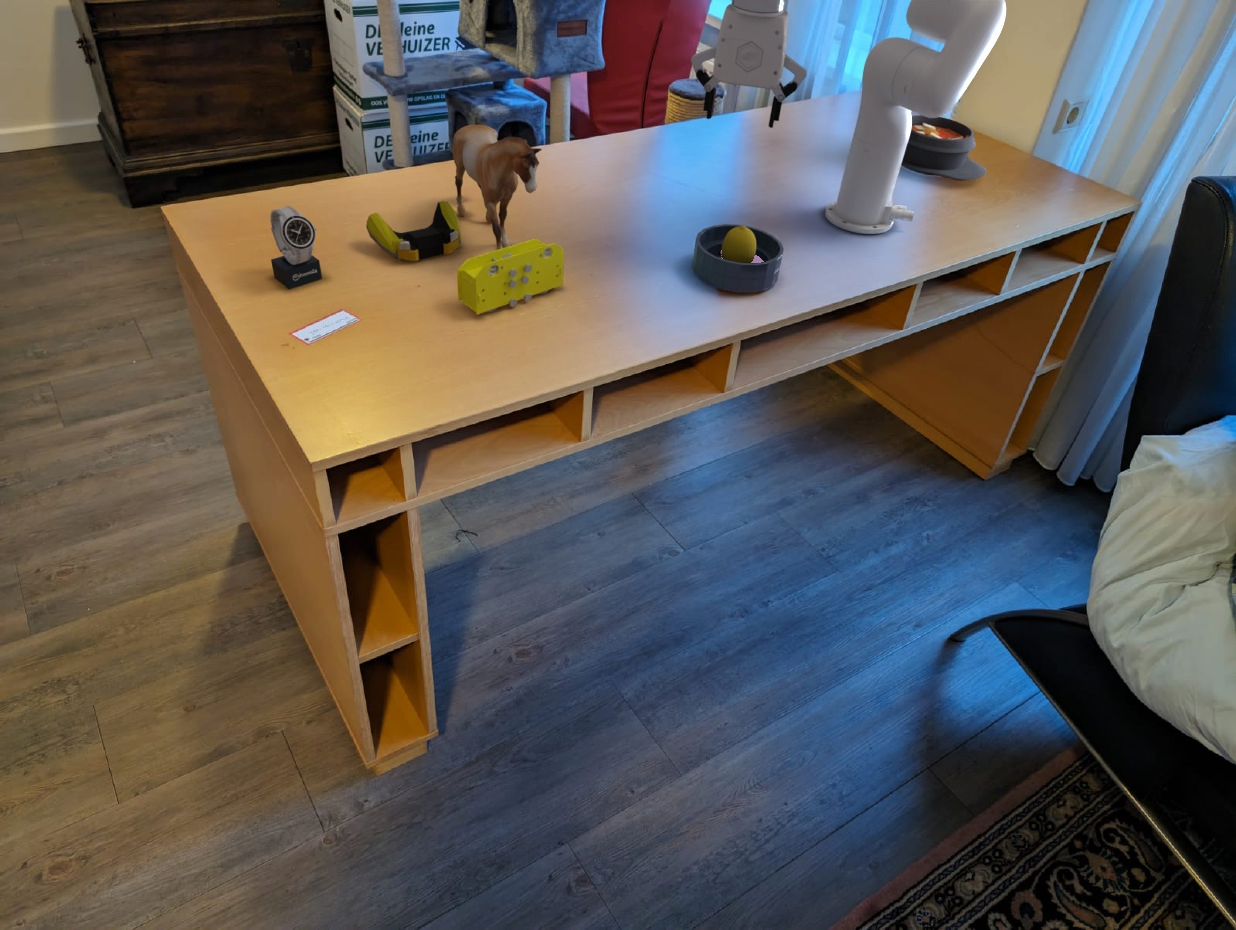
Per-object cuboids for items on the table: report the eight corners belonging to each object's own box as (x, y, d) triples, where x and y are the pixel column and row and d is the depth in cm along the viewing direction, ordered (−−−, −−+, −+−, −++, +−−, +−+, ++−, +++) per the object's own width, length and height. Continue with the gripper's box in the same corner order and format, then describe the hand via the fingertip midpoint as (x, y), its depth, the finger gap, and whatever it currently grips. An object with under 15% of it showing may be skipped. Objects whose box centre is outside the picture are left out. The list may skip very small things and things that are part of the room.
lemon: (740, 282, 142) (749, 237, 137) (711, 270, 144) (719, 225, 139) (757, 271, 146) (766, 226, 140) (729, 259, 148) (737, 215, 143)
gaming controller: (365, 243, 144) (388, 270, 138) (361, 211, 140) (384, 237, 134) (450, 227, 150) (475, 252, 144) (448, 196, 147) (474, 220, 141)
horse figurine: (541, 275, 140) (543, 147, 127) (494, 282, 137) (492, 152, 124) (484, 195, 161) (481, 79, 148) (443, 199, 158) (436, 81, 145)
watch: (295, 295, 130) (282, 225, 123) (268, 273, 134) (255, 205, 127) (329, 283, 133) (318, 215, 126) (302, 263, 137) (290, 196, 130)
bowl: (780, 262, 150) (786, 232, 146) (772, 302, 139) (779, 271, 136) (698, 248, 152) (703, 218, 148) (685, 286, 141) (689, 255, 137)
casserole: (999, 176, 188) (1013, 137, 182) (954, 196, 178) (967, 155, 172) (901, 139, 201) (911, 101, 196) (853, 155, 191) (863, 116, 185)
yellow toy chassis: (478, 320, 128) (477, 269, 123) (457, 304, 131) (454, 253, 126) (564, 290, 137) (566, 241, 132) (542, 275, 140) (543, 227, 135)
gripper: (695, -3, 123) (681, 121, 134) (819, 13, 121) (794, 136, 132) (702, -15, 128) (688, 105, 140) (820, 0, 127) (797, 120, 138)
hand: (740, 120), depth 136 cm, fingers open, 9 cm apart
